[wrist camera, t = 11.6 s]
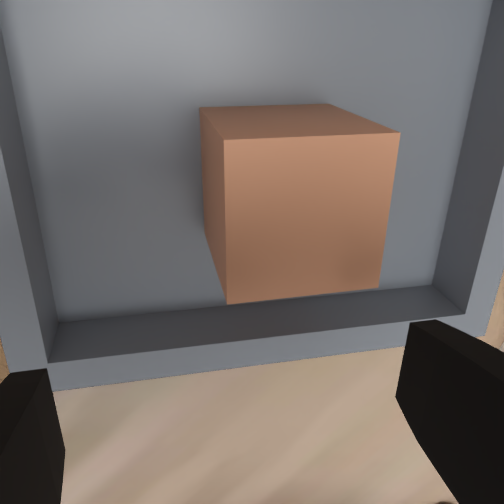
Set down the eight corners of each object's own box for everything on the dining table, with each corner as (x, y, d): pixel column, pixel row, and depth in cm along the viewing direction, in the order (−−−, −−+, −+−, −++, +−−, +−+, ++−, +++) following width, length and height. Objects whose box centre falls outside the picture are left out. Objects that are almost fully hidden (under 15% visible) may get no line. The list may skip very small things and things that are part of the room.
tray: (33, 342, 18) (16, 396, 16) (-66, -92, 12) (-123, -126, 10) (442, 298, 22) (484, 335, 19) (523, -55, 16) (600, -71, 13)
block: (204, 233, 17) (227, 304, 13) (199, 107, 15) (223, 140, 11) (319, 223, 18) (378, 287, 14) (329, 103, 16) (400, 132, 12)
